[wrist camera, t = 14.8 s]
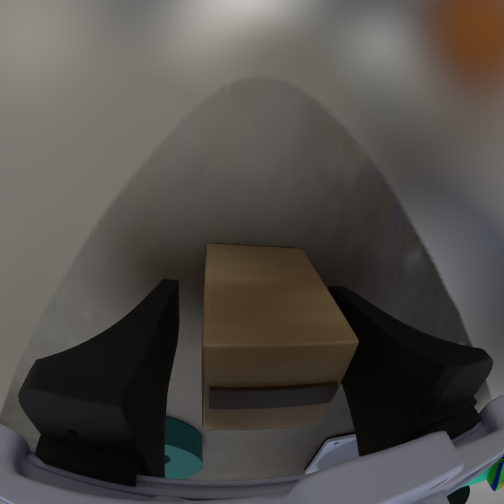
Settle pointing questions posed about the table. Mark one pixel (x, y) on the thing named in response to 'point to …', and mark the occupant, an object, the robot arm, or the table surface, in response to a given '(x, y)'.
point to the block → (269, 340)
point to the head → (492, 475)
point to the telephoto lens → (459, 495)
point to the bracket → (182, 450)
